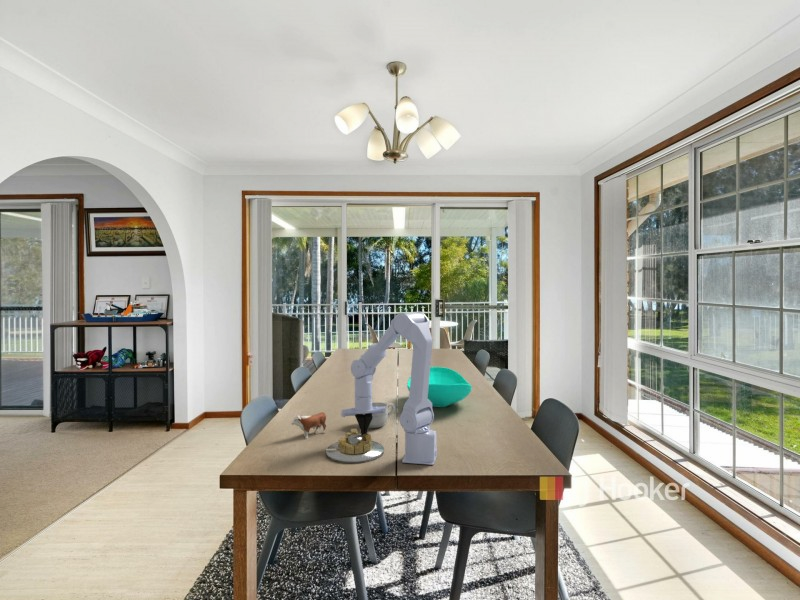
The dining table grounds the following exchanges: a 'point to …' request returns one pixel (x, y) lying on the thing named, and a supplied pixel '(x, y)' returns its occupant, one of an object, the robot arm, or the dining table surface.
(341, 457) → the flange
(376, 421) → the teacup
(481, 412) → the dining table surface
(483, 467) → the dining table surface
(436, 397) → the table top decor
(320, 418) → the bull figurine
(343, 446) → the ring nut
